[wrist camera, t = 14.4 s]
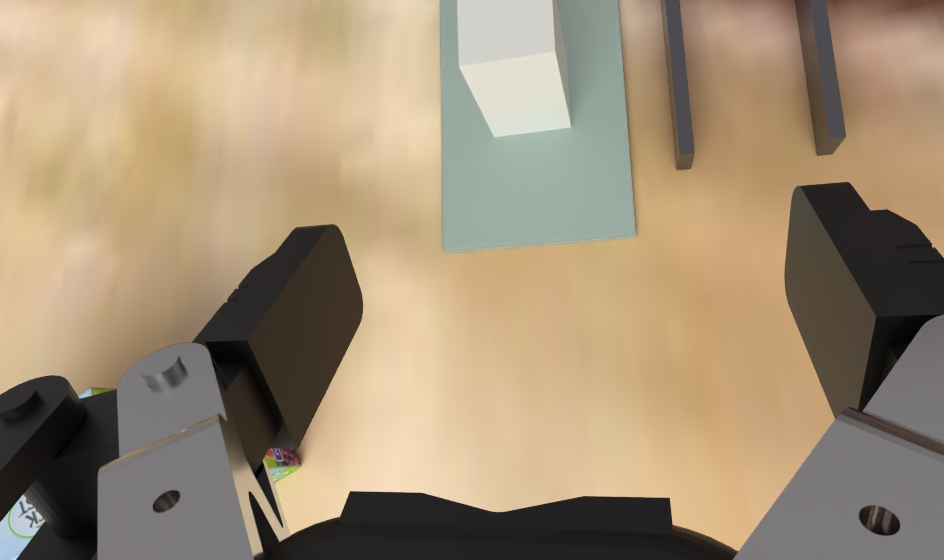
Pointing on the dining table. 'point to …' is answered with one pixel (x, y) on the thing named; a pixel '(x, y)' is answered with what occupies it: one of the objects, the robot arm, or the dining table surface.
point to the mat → (540, 149)
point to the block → (515, 63)
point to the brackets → (816, 68)
